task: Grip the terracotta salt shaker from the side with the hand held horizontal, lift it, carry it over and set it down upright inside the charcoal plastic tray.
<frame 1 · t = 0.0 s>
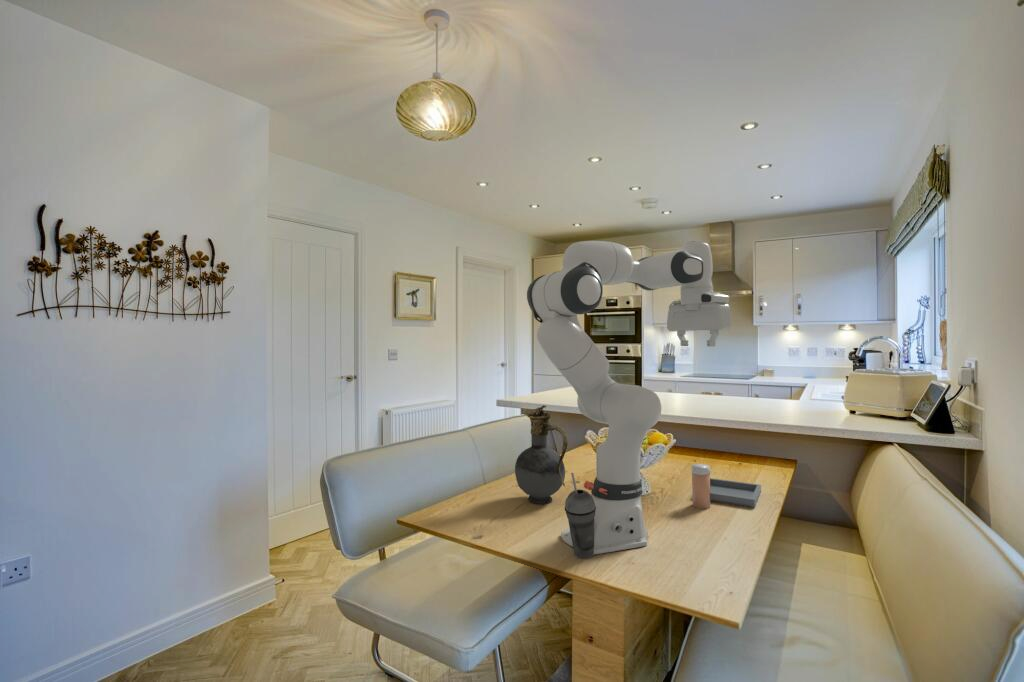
hand: (697, 346, 142), 48 cm above the table, tool pointing down, fingers open, 8 cm apart
tray: (728, 495, 156), on the table
pitcher: (544, 502, 152), on the table
beverage cup: (584, 554, 115), on the table, touching arm
shaker: (701, 505, 146), on the table
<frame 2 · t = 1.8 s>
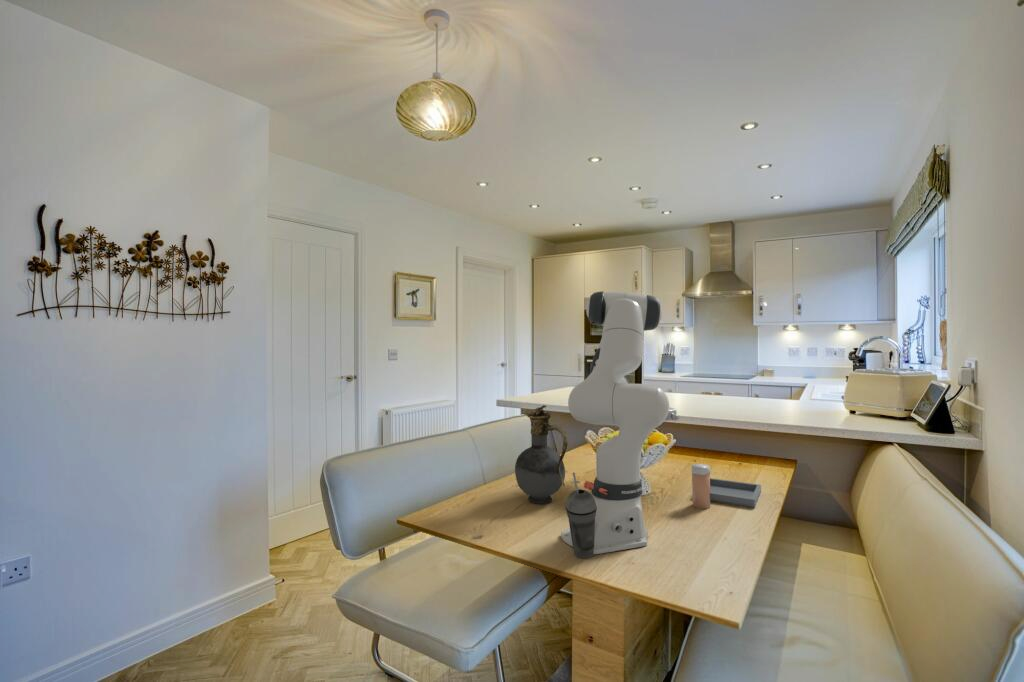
hand: (667, 419, 158), 24 cm above the table, tool horizontal, fingers open, 8 cm apart
nothing on the table moved.
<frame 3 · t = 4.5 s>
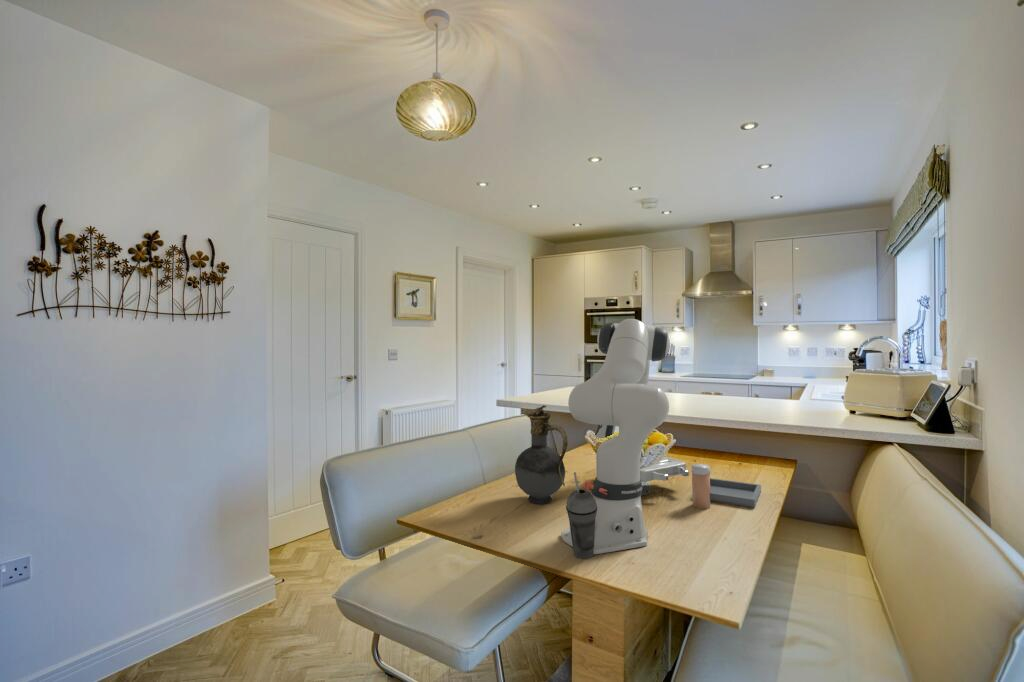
hand: (677, 475, 154), 7 cm above the table, tool horizontal, fingers open, 8 cm apart
nothing on the table moved.
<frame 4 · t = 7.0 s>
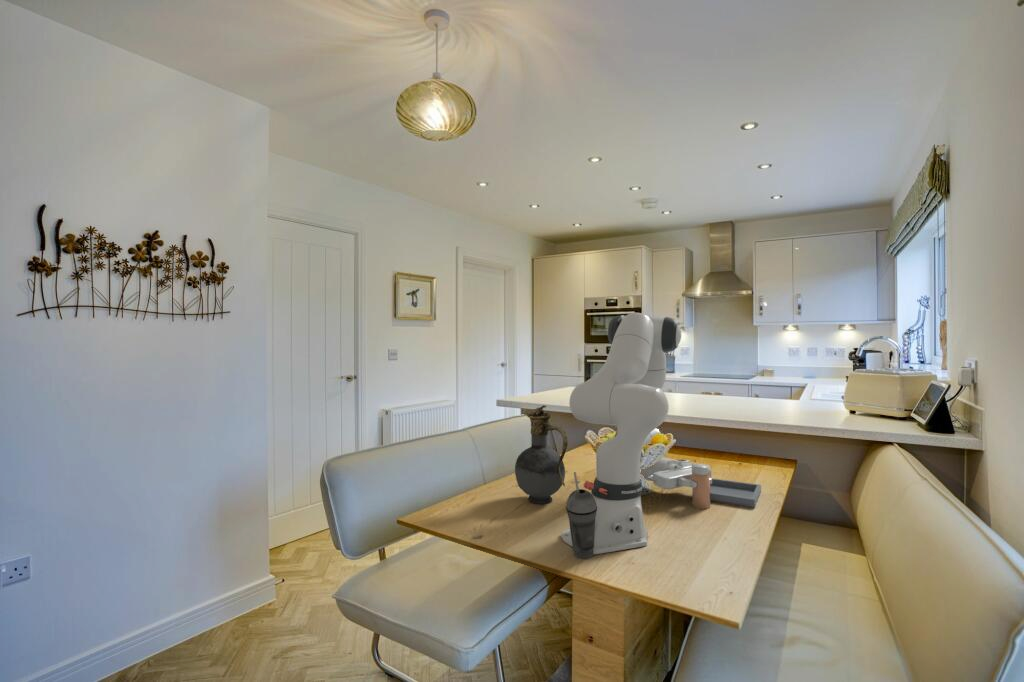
hand: (703, 483, 146), 7 cm above the table, tool horizontal, fingers closed on shaker, 5 cm apart
shaker: (701, 505, 146), on the table, touching gripper
everything else where it was.
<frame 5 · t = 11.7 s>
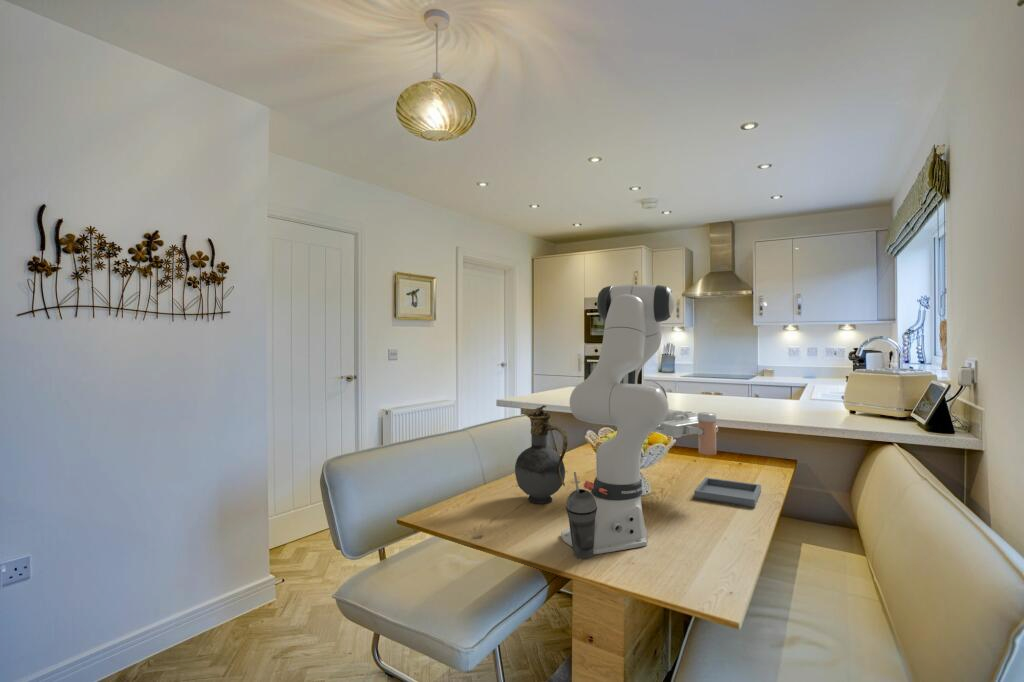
hand: (709, 430, 148), 22 cm above the table, tool horizontal, fingers closed on shaker, 5 cm apart
shaker: (707, 453, 149), point 15 cm above the table, touching gripper
everything else where it was.
when the fingers open (9 cm above the table, at t = 16.3 s): shaker drops 1 cm, resting on tray.
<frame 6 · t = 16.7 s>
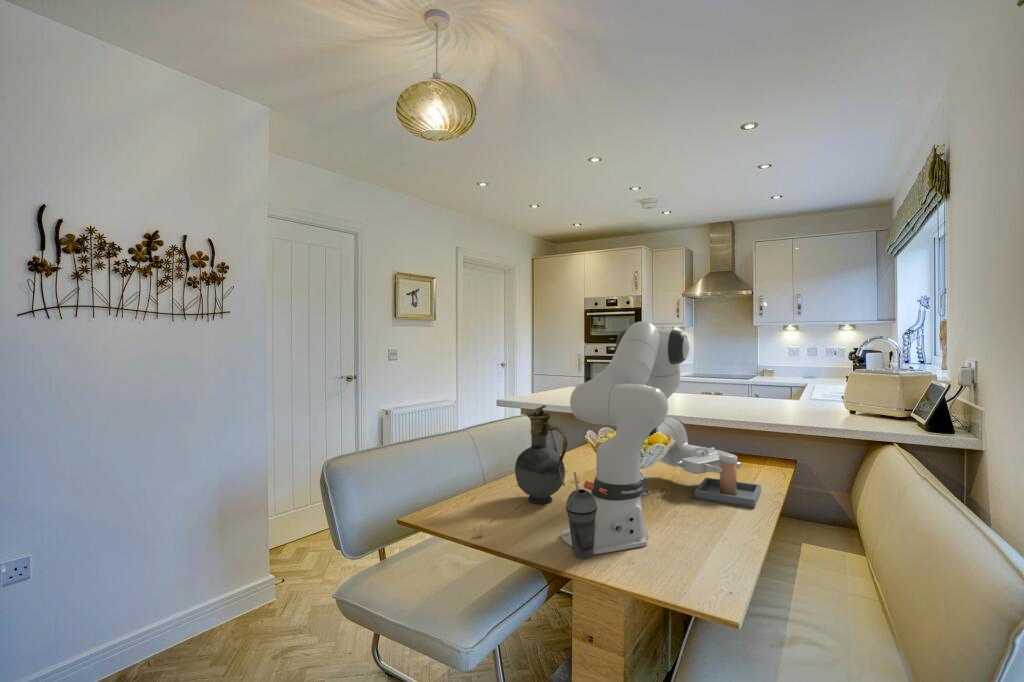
hand: (730, 468, 155), 9 cm above the table, tool horizontal, fingers open, 8 cm apart
shaker: (728, 493, 156), point 1 cm above the table, touching tray
everything else where it was.
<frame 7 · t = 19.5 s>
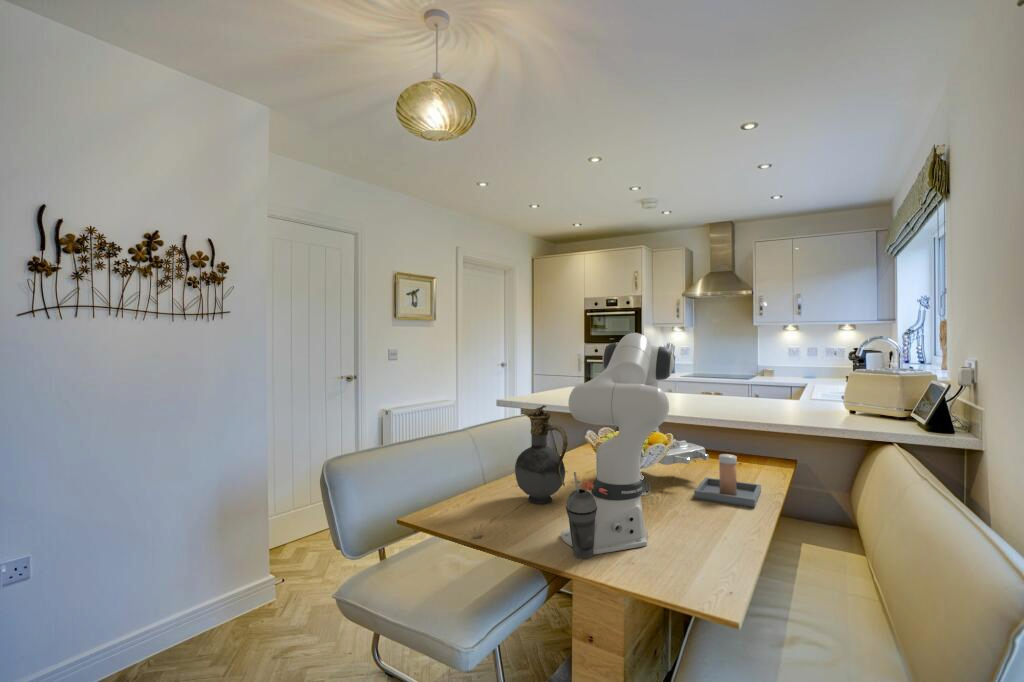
hand: (698, 459, 166), 9 cm above the table, tool horizontal, fingers open, 8 cm apart
nothing on the table moved.
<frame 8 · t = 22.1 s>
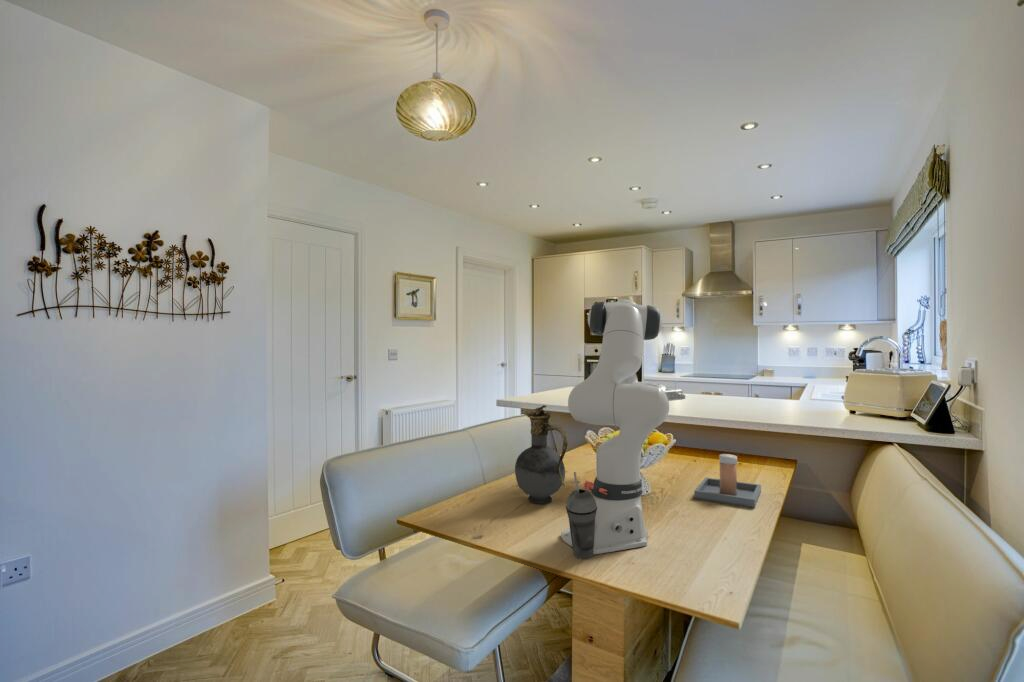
hand: (674, 398, 167), 30 cm above the table, tool horizontal, fingers open, 8 cm apart
nothing on the table moved.
at the end: shaker inside the target area on the tray (0.0 cm from its centre), point 0.6 cm above the tray's base; shaker tilted 1°; the gripper is holding nothing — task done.
